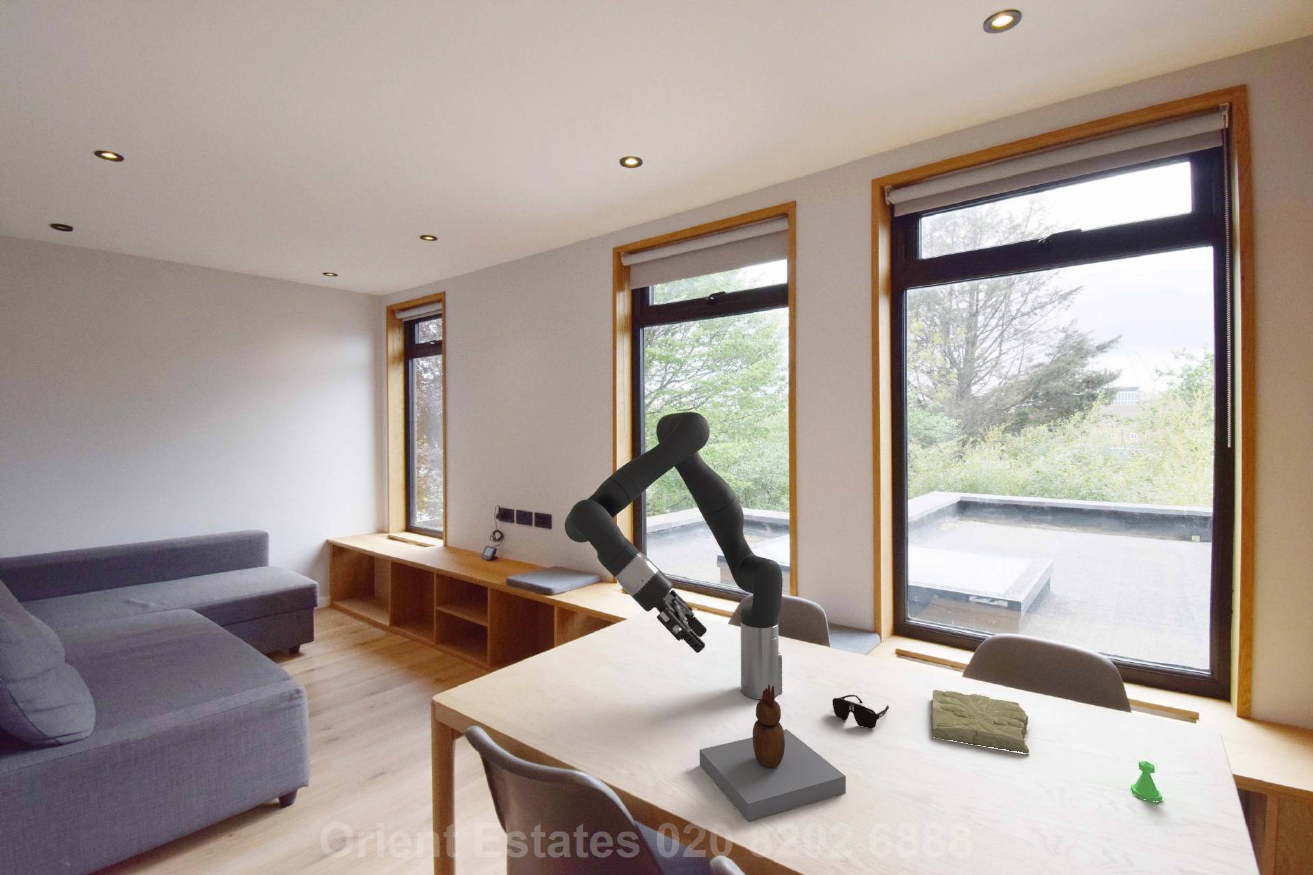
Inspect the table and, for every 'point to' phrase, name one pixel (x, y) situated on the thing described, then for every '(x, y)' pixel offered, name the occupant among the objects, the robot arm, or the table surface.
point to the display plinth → (771, 777)
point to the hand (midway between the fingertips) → (702, 641)
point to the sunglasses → (856, 711)
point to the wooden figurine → (768, 731)
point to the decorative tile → (979, 720)
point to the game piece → (1146, 783)
